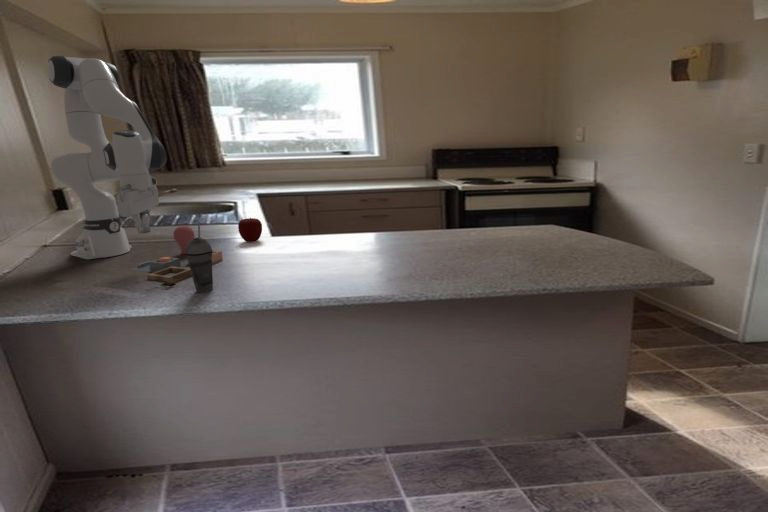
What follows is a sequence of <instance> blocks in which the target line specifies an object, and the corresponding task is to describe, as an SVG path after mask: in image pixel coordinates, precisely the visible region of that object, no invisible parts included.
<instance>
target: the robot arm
mask: <svg viewBox="0 0 768 512" xmlns="http://www.w3.org/2000/svg"><path fill="white" fill-rule="evenodd" d="M46 72H47V76H48V78H49V80H50V82H51V83H52V84H53V85H54V86H56V87H57V88H62V89H64V93H63V95H64V97H63V102H64V103H63V105H64V114H65V118H66V119H65V120H66V125H67V131H68V132H67V133H68V135H69V137H71V139H72V140H74V141H76V142H78V143H80V144H82V145H85V146H88V147H89V148H90V152H76V153H73V152H71V153H66V154H65V153H64V154H61V155H57V156H55V157H53V159H52V161H51V163H50V170H51V173H52V175H53V177H54V179H56V180H57V181H58V182H60V183H62V184H64V185H65V186H67V187H68V188H70V189H71V190H72V191H73V192H74V193H75V194H76V195H77V197H78V199H79V200H80V203H81V205H82V206H81V207H82V209H83V212H84V216H85V220H83V221H82V225H84V226H83V227H84V230H83V231H82V232H81V234H80V235H79V236H78V237H77V238H76V240H75V245H76V250H74V251H72V252H70V256H72V257H77V258H79V259H83V260H92V259H101V258H108V257H109V258H110V257H115V256H120V255H123V254H126V253H128V252H130V251H131V249H132V248H133V246H132V245H131V244H129V243H130V242H129V240H128V236H127V234H126V233H127V232H126V231H125V230H126V229H125V228H123V227H122V219H121V217H123V218H124V217H131V219H132V220H133V221H134V226H135V227H136V228H137V227H141V226H143V222H142V221H141V219H140V217H139V216H140V212H144V214H148V219H149V223H151V217H150V216H151V209H153V208H155V207H158V206H159V202H160V198H159V193H158V192H159V191H158V188H157V185H158V180H157V178H156V177H153V176H152V175H150V171H149V170H151V171H152V170H160V169H162V167H164V165H165V164H166V163H167V160H168V157H167V152H166V150H165V146H164V145H163V144H162V142H161V141H160V140H159V139H158V137H157V136H156V135H155V133H154V131H153V129H152V127H151V126H150V124H149V123H148V120H147V119H146V117H145V116H144V114H143V113H142V110H141V109H140V108H139V106H138V104H137V103H136V102H135V101H133V100H131V99H129V98H128V97H126V95H124V94H123V92H122V91H121V89H120V82H121V79H120V73H119V70H118V69H117V67H116V66H115V65H114V64H112V63H109V62H106V61H103V60H102V59H99V58H93V57H90V58H85V57H73V56H64V55H54V56H50V58H49V59H48V61H47V66H46ZM102 116H103V117H107V118H112V119H115V120H119V121H123V122H125V123H127V124H129V125H131V126H132V127H133V129H134V130H125V129H124V130H118V131H117V130H116V131H115V132H113V133H112V141H111V142H110V141H109V140H108V138H107V136H106V134H105V129H104V126H103V120H102ZM116 181H119V187H120V188H119V191H118V192H117V197H116V198H115V196H114V195H113V194H111V193H110V192H108V191H105V190H102V189H99V188H98V187H96V185H95V183H101V182H102V183H103V182H116ZM116 200H117V201H116Z"/></svg>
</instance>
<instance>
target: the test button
mask: <svg viewBox="0 0 768 512" xmlns="http://www.w3.org/2000/svg"><path fill="white" fill-rule="evenodd" d="M158 260H159V262H167V261H170V260H171V258H170V256H163V257H159V258H158Z"/></svg>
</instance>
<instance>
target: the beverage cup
mask: <svg viewBox="0 0 768 512" xmlns="http://www.w3.org/2000/svg"><path fill="white" fill-rule="evenodd" d="M212 251H213V249H212V245H211V243H209V241H207V240H206V239H204V238H202V237H201V223H200V222H197V237H194V239H192V240H190V241H189V242H188V244H187V246H186V250H185V252H186V253H185V254H184V255H185V256H186V260H188V261H189V264H188V265H189V268H190V269H191V273H192V276H191V277H192V280H193V283H194V287H195V290H196V291H195V292H196V293H199V294H203V293H204V294H205V293H209V292H212V291H213V290H214V287H213V285H214V281H213V280H214V278H213V263H212ZM188 261H187V262H188Z"/></svg>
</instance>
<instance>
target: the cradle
mask: <svg viewBox="0 0 768 512" xmlns="http://www.w3.org/2000/svg"><path fill="white" fill-rule="evenodd" d="M169 257H170V256H169ZM170 258H171V260H170V261H167V262H159V260H158V259H159V258H158V259H154V260H147V261H144V262H141V263H138V264H137V267H134V268H131V270H132V271H139V272H149V273H154V272H157V271H160V270H163V269H165V268H168V267H171V266H173V267H183V266H186V264H182V263H181V259H180V258H179V257H170ZM131 270H130V271H131Z"/></svg>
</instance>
